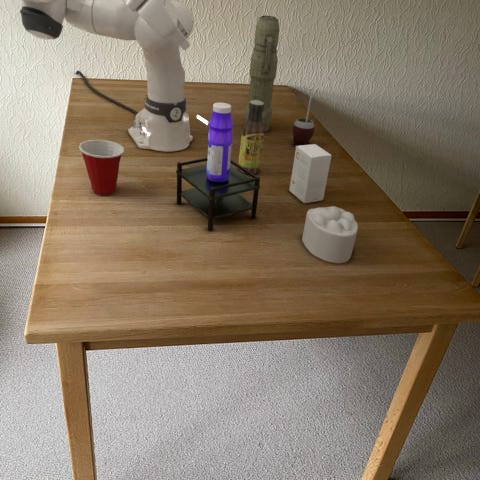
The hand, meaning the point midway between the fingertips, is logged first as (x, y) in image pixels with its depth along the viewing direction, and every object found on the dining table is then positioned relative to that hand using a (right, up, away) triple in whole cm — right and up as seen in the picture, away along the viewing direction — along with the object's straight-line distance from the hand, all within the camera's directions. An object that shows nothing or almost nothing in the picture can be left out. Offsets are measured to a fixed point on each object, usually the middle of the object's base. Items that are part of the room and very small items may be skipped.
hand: (187, 42), depth 111 cm
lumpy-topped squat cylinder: (+32, -44, +9) cm, 55 cm away
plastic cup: (-24, -28, +22) cm, 43 cm away
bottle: (+6, -27, +13) cm, 30 cm away
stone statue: (+17, +3, +69) cm, 71 cm away
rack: (+5, -34, +18) cm, 39 cm away
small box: (+30, -28, +29) cm, 50 cm away
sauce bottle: (+14, -19, +39) cm, 46 cm away
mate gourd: (+32, -5, +60) cm, 68 cm away
